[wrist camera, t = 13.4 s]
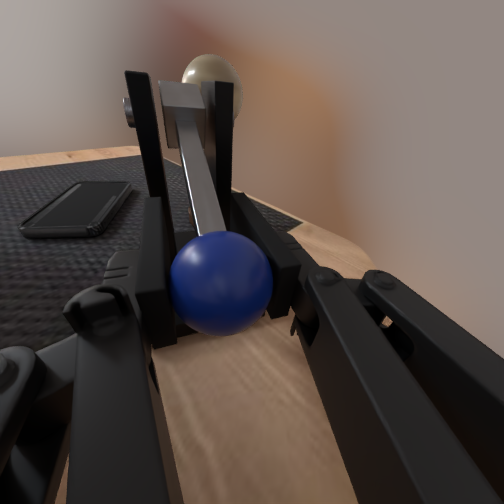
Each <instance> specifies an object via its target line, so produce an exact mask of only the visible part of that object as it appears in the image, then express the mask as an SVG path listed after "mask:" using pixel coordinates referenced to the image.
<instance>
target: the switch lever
mask: <svg viewBox="0 0 504 504" xmlns="http://www.w3.org/2000/svg"><path fill="white" fill-rule="evenodd" d="M158 82H159V90H160V97H161V105H162V112H163V120H164V126H165V133H166V138H167V146H168V148H179V152H180V157H181V162H182V167H183V172H184V178H185V183H186V188H187V193H188V198H189V203H190V208H191V214H192V219H193V224H194V229H195V234H196V238H194V239H192V240H191V241H190V242H188V243H187V244H186V245H185V246H184V247H183V248H182V249H181V250H180V251H179V252H178V254H177V255H176V257H175V259H174V261H173V263H172V265H171V268H170V271H169V276H168V292H169V298H170V301H171V304H172V306H173V308H174V310H175V312H176V313H177V315H178V316H179V318H180V319H181V320H182V321H183V322H184V323H185V324H186V325H188V326H189V327H190V328H192V329H194V330H196V331H198V332H200V333H203V334H206V335H211V336H228V335H233V334H236V333H239V332H241V331H243V330H246V329H247V328H249V327H250V326H252V325H253V324H254V323H255V322H256V321H257V320H258V319H259V318H260V317H261V316H262V315H263V313H264V312H265V310H266V308H267V306H268V304H269V302H270V299H271V296H272V291H273V275H272V269H271V266H270V263H269V261H268V259H267V257H266V255H265V254H264V252H263V251H262V250H261V248H260V247H259V246H258V245H257V244H256V243H254V242H253V241H252V240H250V239H249V238H247V237H245V236H243V235H241V234H238V233H235V232H230V231H227V230H226V227H225V223H224V220H223V216H222V213H221V209H220V206H219V202H218V199H217V195H216V192H215V188H214V185H213V181H212V178H211V174H210V171H209V167H208V163H207V160H206V156H205V153H204V149H205V122H206V108H205V105H204V102H203V99H202V96H201V93H200V90H199V88H198V85H197V84H190V83H180V82H170V81H161V80H160V81H158Z"/></svg>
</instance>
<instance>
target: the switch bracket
mask: <svg viewBox="0 0 504 504" xmlns="http://www.w3.org/2000/svg"><path fill="white" fill-rule="evenodd" d="M124 74H125V78H126V83H127V88H128V93H129V98H123V104H124V110H125V115H126V119H127V123H128V125H129V127H131V128H136V131H137V136H138V141H139V146H140V151H141V156H142V161H143V166H144V170H145V175H146V180H147V185H148V190H149V195H150V197H161V200H162V206H163V211H164V217H165V223H166V228H167V234H168V240H169V249H170V261H171V265H172V263H173V261H174V259H175V257H176V255H177V254H178V252H179V251H180V250H181V249H182V248H183V247H184V246H185V245H186V244H187V243H188V242H190V241H191V240H192V239H194V238H196V234H195V231H188V232H178V233H174V228H173V221H172V215H171V208H170V201H169V195H168V188H167V182H166V175H165V169H164V162H163V156H162V149H161V143H160V136H159V129H158V123H157V116H156V110H155V103H154V98H153V90H152V84H151V77H150V76H149V74H148V73H145V72H136V71H125V72H124ZM201 93H202V99H203V102H204V105H205V108H206V122H205V149H204V153H205V156H206V160H207V163H208V167H209V171H210V174H211V178H212V181H213V185H214V188H215V192H216V195H217V199H218V202H219V206H220V209H221V213H222V216H223V220H224V223H225V227H226V230H227V231H230V200H231V181H232V139H233V127H234V111H233V101H234V83H233V82H224V81H201ZM265 311H266V310H265ZM263 316H265V312H264V313H263V315H262V316H261V317H263ZM175 322H176V334H177V338H178V337H182V336H186V335H190V334H194V333H198V331H196V330H194V329H192V328H190V327H189V326H188V325H186V324H185V323H184V322H183V321H182V320H181V319H180V318H179V316H178V315H177V313H176V312H175Z"/></svg>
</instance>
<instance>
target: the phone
mask: <svg viewBox="0 0 504 504" xmlns="http://www.w3.org/2000/svg"><path fill="white" fill-rule="evenodd" d="M131 191H132V187H131V183H130V182H126V181H79V182H76V183H74V184H73V185H72V186H70V187H69V188H68V189H66V190H65V191H64V192H62V193H61V194H59V195H58V196H57V197H55V198H54V199H53V200H51V201H50V202H49V203H47V204H46V205H45V206H43V207H42V208H40V209H39V210H38V211H36V212H35V213H34V214H32V215H31V216H30V217H28V218H27V219H26V220H24V221H23V222H22V223H20V224H19V225H18V229H19V231H20V232H21V234H22V235H23V237H25V238H64V237H92V236H96V235H99V234H101V233H102V232H103V231H104V230H105V229H106V227H107V226H108V224H109V223H110V221H111V220H112V219H113V217H114V216H115V214H116V213H117V211H118V210H119V209H120V207H121V206H122V204H123V203H124V201H125V200H126V199H127V197H128V196H129V194H130V193H131Z"/></svg>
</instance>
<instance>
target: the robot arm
mask: <svg viewBox="0 0 504 504" xmlns="http://www.w3.org/2000/svg"><path fill="white" fill-rule="evenodd" d="M230 232H235V233H238V234H241V235H243V236H245V237H247V238H249V239H250V240H252V241H253V242H254V243H256V244H257V245H258V246H259V247H260V248H261V250H262V251H263V252H264V254H265V255H266V257H267V259H268V261H269V263H270V266H271V269H272V275H273V291H272V296H271V299H270V302H269V304H268V306H267V308H266V310H267V312H268V314H269V316H270V318H271V319H275V318H279V317H283V316H287V315H288V313H289V309H290V306H291V307H292V309H293V311H294V312H295V317H294V320H293V323H292V326H291V330H290V334H291V336H293V335H294V332H295V329H296V331H297V335H298V336H299V339H300V342H301V345H302V347H303V350H304V353H305V356H306V358H307V361H308V364H309V367H310V370H311V372H312V375H313V378H314V381H315V384H316V386H317V389H318V392H319V395H320V397H321V400H322V403H323V406H324V409H325V411H326V414H327V417H328V420H329V422H330V425H331V428H332V431H333V434H334V436H335V439H336V442H337V445H338V447H339V450H340V453H341V456H342V459H343V461H344V464H345V467H346V470H347V473H348V475H349V478H350V481H351V484H352V486H353V489H354V492H355V495H356V498H357V500H358V503H359V504H504V359H503V358H501V357H500V356H499V355H498V354H496V353H495V352H494V351H492V350H491V349H490V348H488V347H487V346H486V345H485V344H483V343H482V342H481V341H479V340H478V339H477V338H475V337H474V336H472V335H471V334H470V333H469V332H467V331H466V330H465V329H463V328H462V327H461V326H459V325H458V324H457V323H455V322H454V321H453V320H451V319H450V318H449V317H447V316H446V315H445V314H444V313H442V312H441V311H440V310H438V309H437V308H436V307H434V306H433V305H432V304H430V303H429V302H427V301H426V300H425V299H424V298H422V297H421V296H420V295H418V294H417V293H416V292H414V291H413V290H412V289H410V288H409V287H408V286H406V285H405V284H404V283H402V282H401V281H400V280H398V279H397V278H395V277H394V276H392V275H391V274H389V273H387V272H384V271H380V270H369V271H367V272H365V274H364V276H363V278H362V279H347V278H343V277H342V276H341V275H340V274H339V273H338V272H337V271H335V270H333V269H331V268H328V267H322V266H319V265H318V264H317V263H316V262H315V261H314V259H313V258H312V257H311V256H310V255H309V254H308V253H307V252H306V251H305V249H303V248H302V246H301V245H300V244H299V243H298V242H297V241H296V239H295V238H294V237H293V236H292V235H290V234H288V233H287V232H285V231H277V232H275V231H274V229H273V228H272V227H271V226H270V224H269V223H268V222H267V221H266V219H265V218H264V217H263V216H262V214H261V213H260V212H259V211H258V210H257V208H256V207H255V206H254V205H253V203H252V202H251V201H250V200H249V198H248V197H247V196H246V195H245V193H244V192H243V193H231V200H230ZM170 268H171V261H170V249H169V240H168V234H167V228H166V223H165V217H164V211H163V206H162V200H161V197H149V198H144V207H143V217H142V226H141V236H140V246H139V249H132V250H123V251H117V252H116V253H115V254H114V255H113V256H112V257H111V258H110V259H109V260H108V264H107V267H106V272H105V275H104V280H103V282H102V284H99V285H95V286H92V287H89V288H87V289H84V290H83V291H81V292H80V293H78V294H76V295H75V296H73V297H72V299H71V300H70V301H69V302H68V303H67V304H66V305H65V308H64V310H63V312H62V313H63V315H64V316H65V318H66V319H67V321H68V322H69V323H70V325H71V326H72V328H73V329H74V331H75V332H76V333H75V334H73V335H72V336H70V337H68V338H66V339H64V340H62V341H60V342H58V343H55V344H53V345H51V346H49V347H46V348H44V349H42V350H39V351H37V352H34V351H33V350H32V349H30V348H27V347H25V346H12V347H8V348H5V349H1V350H0V504H54V503H55V499H56V496H57V492H58V489H59V485H60V482H61V478H62V475H63V471H64V468H65V464H66V461H67V457H68V454H69V466H68V481H67V497H66V504H184V501H183V497H182V492H181V487H180V482H179V478H178V473H177V468H176V464H175V459H174V454H173V450H172V445H171V440H170V436H169V431H168V426H167V422H166V417H165V412H164V408H163V403H162V398H161V393H160V389H159V384H158V379H157V375H156V370H155V365H154V362H153V359H152V356H151V347H152V346H153V348H154V349H158V348H162V347H166V346H170V345H174V344H177V334H176V322H175V310H174V308H173V306H172V304H171V301H170V298H169V292H168V276H169V271H170ZM386 316H387V317H388V318H390V319H391V320H392V321H393V322H392V323H391V325H390V326H389V327H387V326H385V325H383V324H382V322H383V320H384V319H385V317H386Z"/></svg>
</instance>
